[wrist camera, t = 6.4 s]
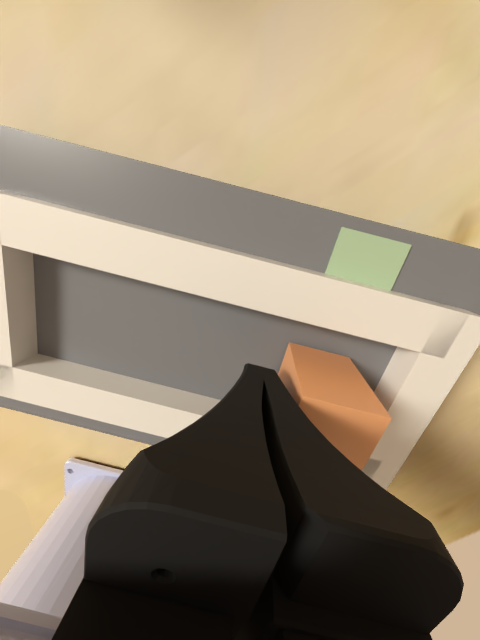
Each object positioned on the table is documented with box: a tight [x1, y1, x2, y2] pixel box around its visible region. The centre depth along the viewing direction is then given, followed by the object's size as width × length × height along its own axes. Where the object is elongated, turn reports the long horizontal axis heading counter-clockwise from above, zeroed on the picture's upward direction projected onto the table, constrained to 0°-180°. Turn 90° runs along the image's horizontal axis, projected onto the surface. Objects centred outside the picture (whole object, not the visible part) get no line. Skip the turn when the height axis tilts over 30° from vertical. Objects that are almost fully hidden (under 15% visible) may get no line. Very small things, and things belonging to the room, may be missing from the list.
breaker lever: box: [278, 342, 392, 471], centre depth 11 cm, size 3×3×4 cm
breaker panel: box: [0, 125, 480, 490], centre depth 13 cm, size 15×24×4 cm, turn 76°
